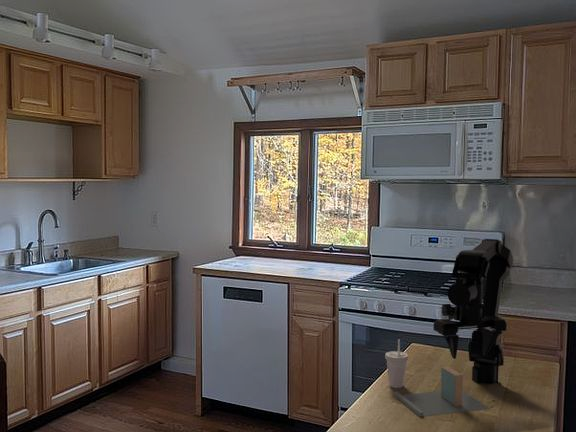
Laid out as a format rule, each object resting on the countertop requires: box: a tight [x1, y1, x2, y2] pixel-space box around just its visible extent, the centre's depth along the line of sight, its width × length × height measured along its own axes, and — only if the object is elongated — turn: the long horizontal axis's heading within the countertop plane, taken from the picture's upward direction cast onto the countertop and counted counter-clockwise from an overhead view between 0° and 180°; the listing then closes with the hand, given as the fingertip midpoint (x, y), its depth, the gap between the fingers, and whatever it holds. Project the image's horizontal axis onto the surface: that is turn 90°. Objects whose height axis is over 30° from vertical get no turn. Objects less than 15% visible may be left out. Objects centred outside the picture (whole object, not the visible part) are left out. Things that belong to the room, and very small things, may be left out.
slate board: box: [393, 389, 491, 418], centre depth 151 cm, size 20×14×2 cm
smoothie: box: [384, 338, 409, 389], centre depth 162 cm, size 6×6×14 cm
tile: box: [440, 366, 464, 406], centre depth 151 cm, size 2×7×8 cm, turn 16°
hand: (469, 357), depth 153 cm, fingers open, 9 cm apart
